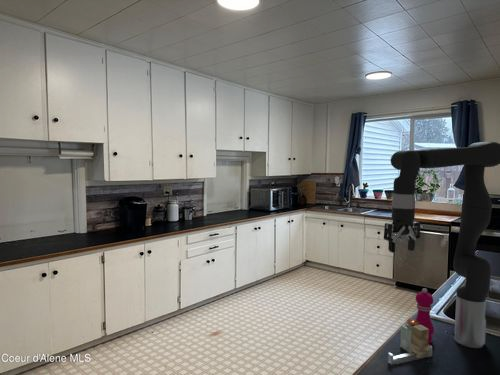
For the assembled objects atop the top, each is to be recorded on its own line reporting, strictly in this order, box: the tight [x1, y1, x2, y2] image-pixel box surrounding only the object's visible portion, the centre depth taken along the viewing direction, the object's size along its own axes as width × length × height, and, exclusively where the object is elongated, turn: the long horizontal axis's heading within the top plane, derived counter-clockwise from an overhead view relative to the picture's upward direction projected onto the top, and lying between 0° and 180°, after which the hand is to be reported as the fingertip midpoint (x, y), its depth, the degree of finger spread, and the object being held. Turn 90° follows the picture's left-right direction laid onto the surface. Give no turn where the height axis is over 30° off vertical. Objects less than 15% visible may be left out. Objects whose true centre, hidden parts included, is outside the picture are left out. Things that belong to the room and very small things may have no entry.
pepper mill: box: [415, 287, 435, 344], centre depth 130 cm, size 7×7×20 cm
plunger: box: [406, 318, 419, 331], centre depth 123 cm, size 4×4×6 cm
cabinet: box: [399, 323, 413, 353], centre depth 124 cm, size 6×5×8 cm
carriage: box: [410, 325, 430, 358], centre depth 118 cm, size 5×4×10 cm
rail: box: [387, 343, 433, 366], centre depth 117 cm, size 18×2×4 cm, turn 109°
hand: (401, 251), depth 123 cm, fingers open, 8 cm apart
